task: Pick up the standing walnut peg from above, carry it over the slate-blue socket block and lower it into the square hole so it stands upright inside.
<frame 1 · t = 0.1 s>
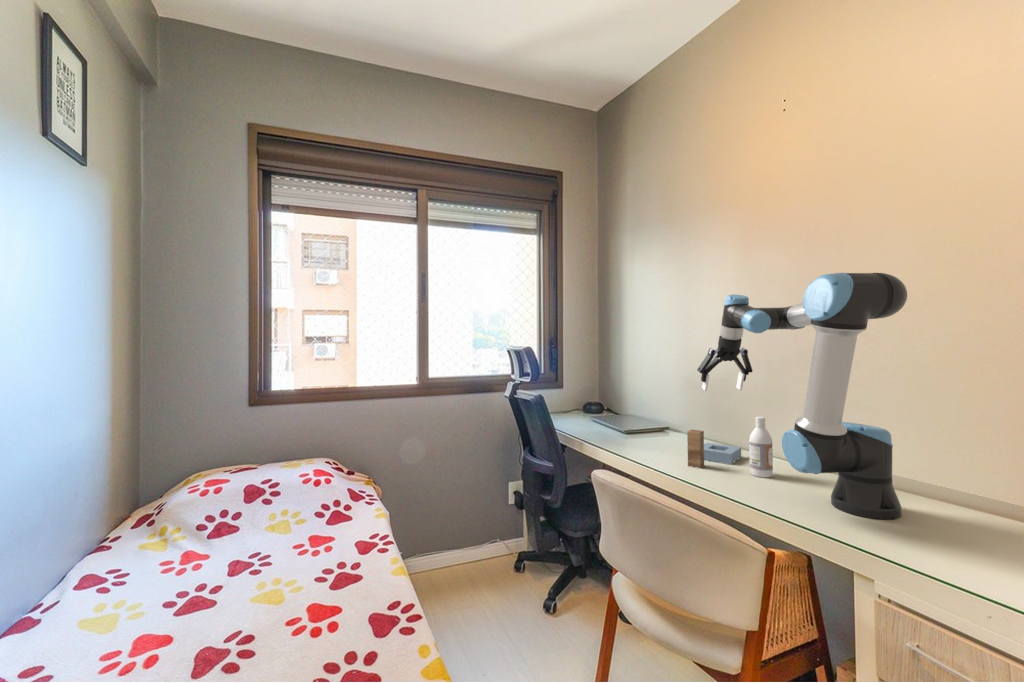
hand: (721, 389, 169), 28 cm above the table, tool tilted 20°, fingers open, 13 cm apart
bath foam: (761, 475, 152), on the table
socket block: (718, 458, 174), on the table
peg: (696, 465, 164), on the table
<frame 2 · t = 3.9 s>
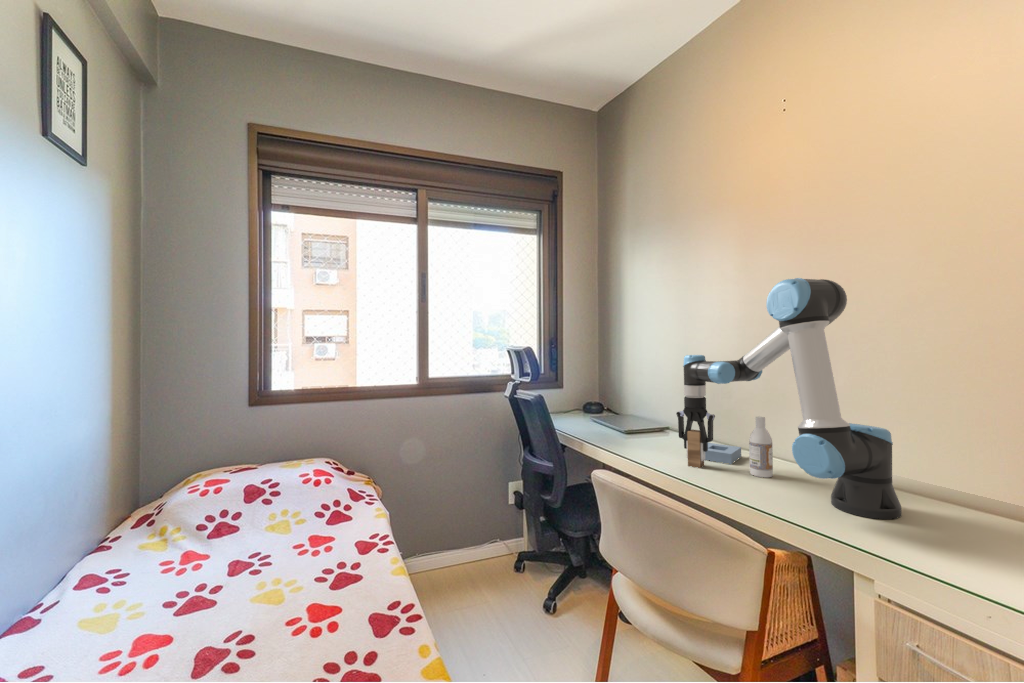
hand: (696, 458, 164), 3 cm above the table, tool pointing down, fingers closed on peg, 4 cm apart
peg: (696, 465, 164), on the table, touching gripper
everything else where it was.
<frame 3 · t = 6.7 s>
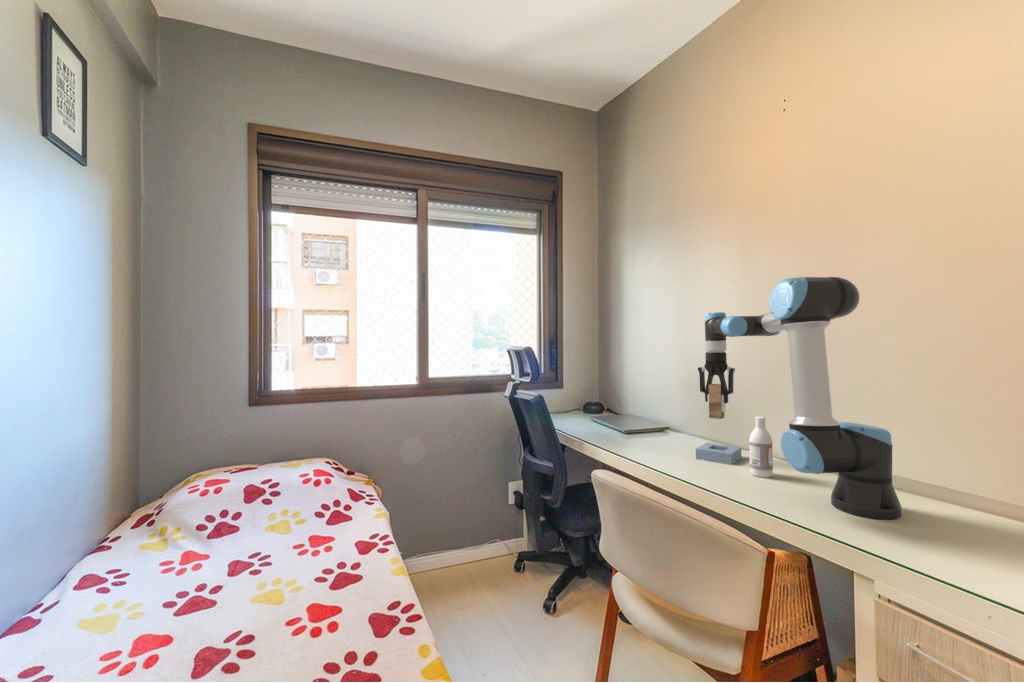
hand: (716, 410, 173), 19 cm above the table, tool pointing down, fingers closed on peg, 4 cm apart
peg: (716, 417, 173), point 16 cm above the table, touching gripper
everything else where it was.
when the fingers open (6 cm above the table, at t = 9.9 s): peg drops 3 cm, resting in socket block.
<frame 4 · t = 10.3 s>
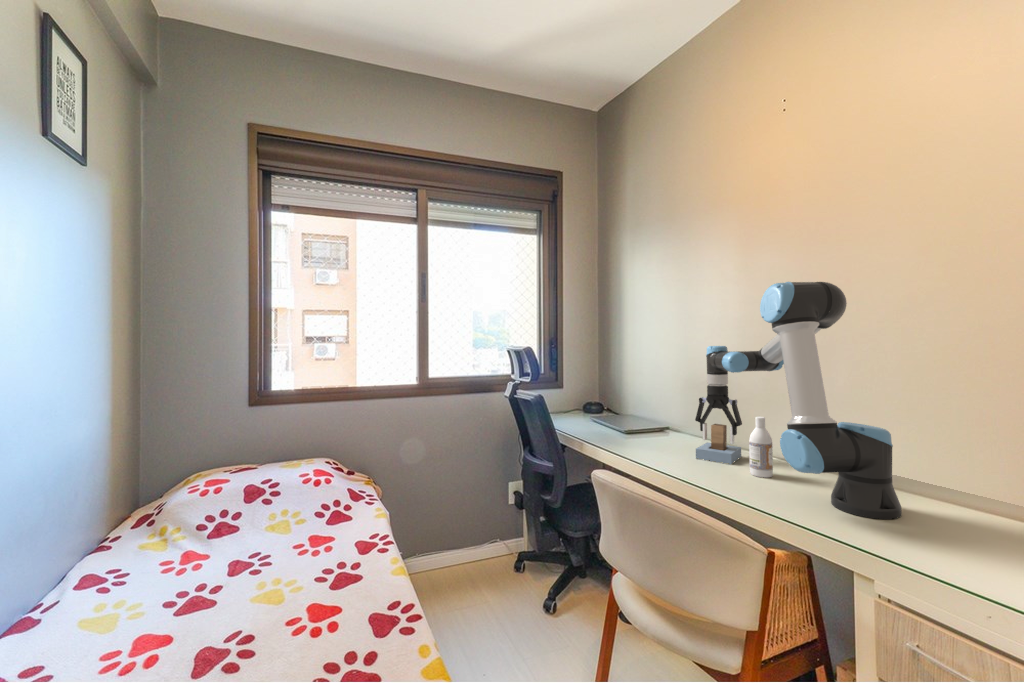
hand: (718, 441, 174), 7 cm above the table, tool pointing down, fingers open, 9 cm apart
peg: (718, 458, 174), resting in socket block
everything else where it was.
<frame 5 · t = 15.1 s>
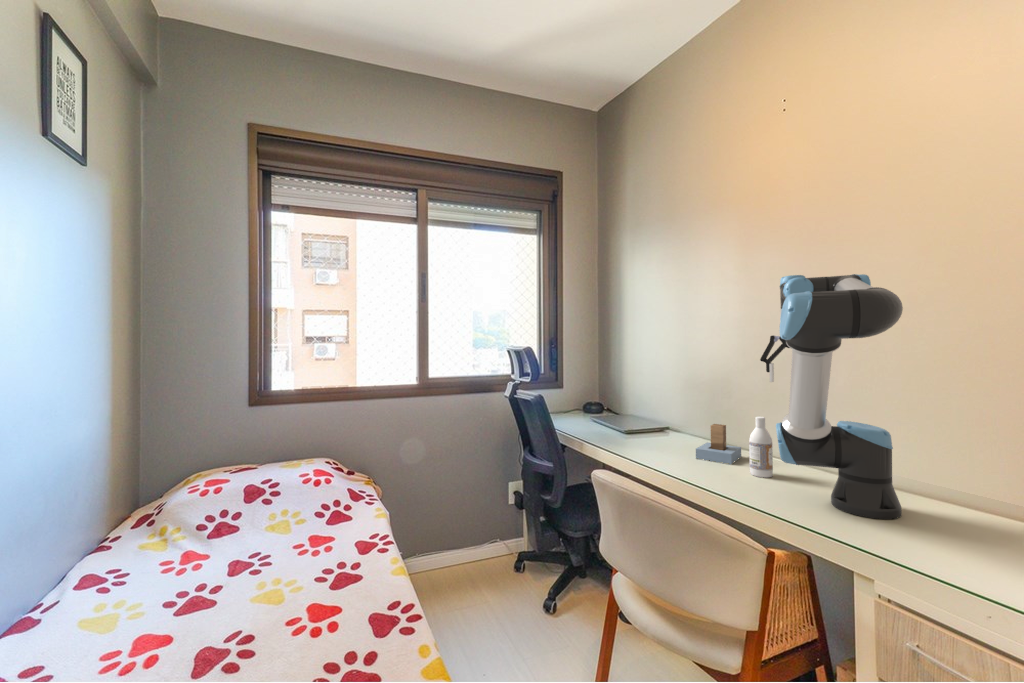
hand: (794, 383, 151), 32 cm above the table, tool pointing down, fingers open, 13 cm apart
nothing on the table moved.
at the end: peg 0.1 cm off-centre on the socket block, point 0.0 cm above the socket block's base; peg tilted 0°; the gripper is holding nothing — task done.
